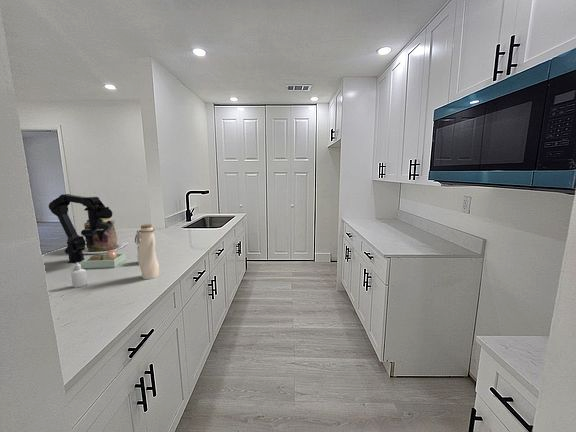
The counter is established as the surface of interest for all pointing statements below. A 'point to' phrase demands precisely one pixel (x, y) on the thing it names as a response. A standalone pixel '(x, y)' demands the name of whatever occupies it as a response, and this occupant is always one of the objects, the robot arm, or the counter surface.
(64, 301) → the counter surface
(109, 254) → the egg
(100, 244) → the cookie jar
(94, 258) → the walnut cube
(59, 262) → the counter surface
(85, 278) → the eye dropper bottle
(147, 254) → the water bottle
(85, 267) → the box
